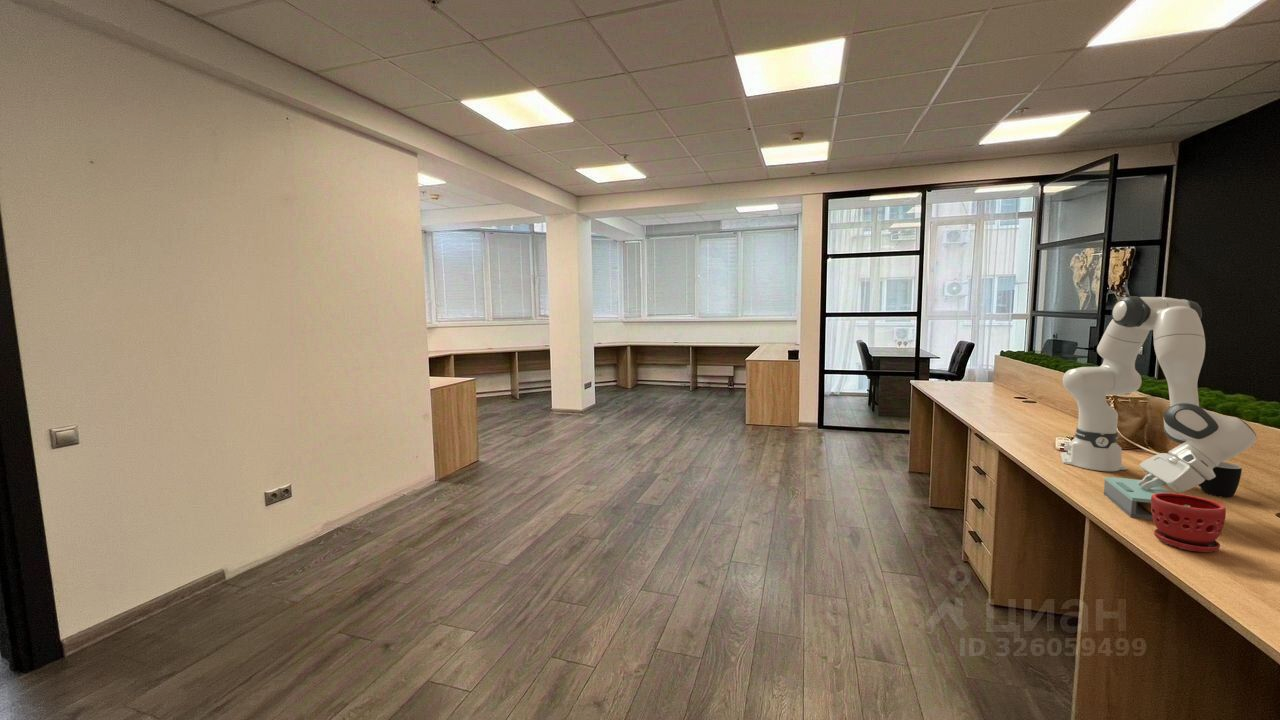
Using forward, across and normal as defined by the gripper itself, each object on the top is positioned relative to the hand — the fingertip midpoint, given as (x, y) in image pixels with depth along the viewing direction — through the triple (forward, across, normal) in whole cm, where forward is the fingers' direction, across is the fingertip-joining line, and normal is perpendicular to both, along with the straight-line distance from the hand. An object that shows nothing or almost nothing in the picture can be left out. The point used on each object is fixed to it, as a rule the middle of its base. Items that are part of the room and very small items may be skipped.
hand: (1141, 487), depth 152 cm
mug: (-14, -26, +24) cm, 38 cm away
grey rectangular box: (+4, 0, +5) cm, 7 cm away
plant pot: (+5, +26, +5) cm, 27 cm away
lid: (+1, 0, +2) cm, 2 cm away
